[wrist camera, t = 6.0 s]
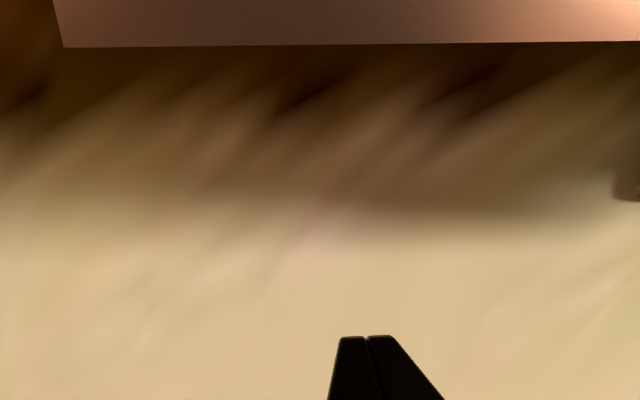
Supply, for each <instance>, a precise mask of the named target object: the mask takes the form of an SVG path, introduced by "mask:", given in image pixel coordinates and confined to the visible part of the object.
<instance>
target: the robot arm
mask: <svg viewBox="0 0 640 400" xmlns="http://www.w3.org/2000/svg"><path fill="white" fill-rule="evenodd" d="M327 400H445V399H444V398H443V397H442V396H441V394H440V393H439V392H438V391H437V389H436V388H435V387H434V386H433V385H432V383H431V382H430V381H429V380H428V378H427V377H426V376H425V375H424V374H423V372H422V371H421V370H420V369H419V367H418V366H417V365H416V364H415V363H414V361H413V360H412V359H411V358H410V356H409V355H408V354H407V353H406V352H405V350H404V349H403V348H402V347H401V345H400V344H399V343H398V342H397V341H396V339H395V338H394V337H392V336H390V335H373V336H368V337H367V338H366V339H365V337H363V336H349V337H342V338H340V340H339V344H338V349H337V354H336V358H335V363H334V368H333V373H332V378H331V382H330V387H329V392H328V397H327Z"/></svg>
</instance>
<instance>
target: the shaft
mask: <svg viewBox="0 0 640 400" xmlns="http://www.w3.org/2000/svg"><path fill="white" fill-rule="evenodd" d="M53 4H54V9H55V13H56V17H57V21H58V25H59V29H60V33H61V38H62V42H63V46H64V48H93V47H172V46H252V45H331V44H411V43H490V42H570V41H640V0H53Z"/></svg>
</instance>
